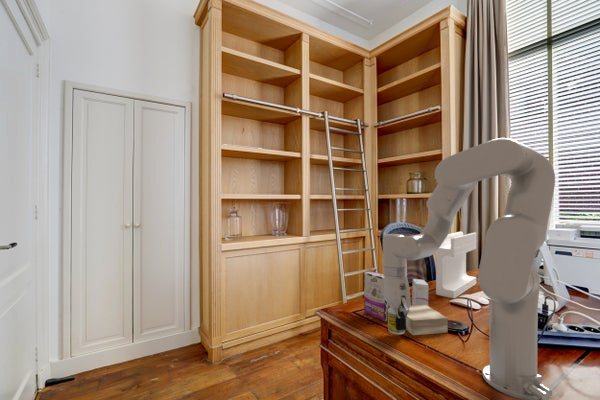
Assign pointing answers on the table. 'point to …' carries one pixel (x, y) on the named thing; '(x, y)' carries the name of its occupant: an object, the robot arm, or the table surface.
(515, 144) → the robot arm
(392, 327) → the supplement bottle
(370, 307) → the candy bar box
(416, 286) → the ink box
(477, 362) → the table surface
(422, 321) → the base block
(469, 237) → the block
